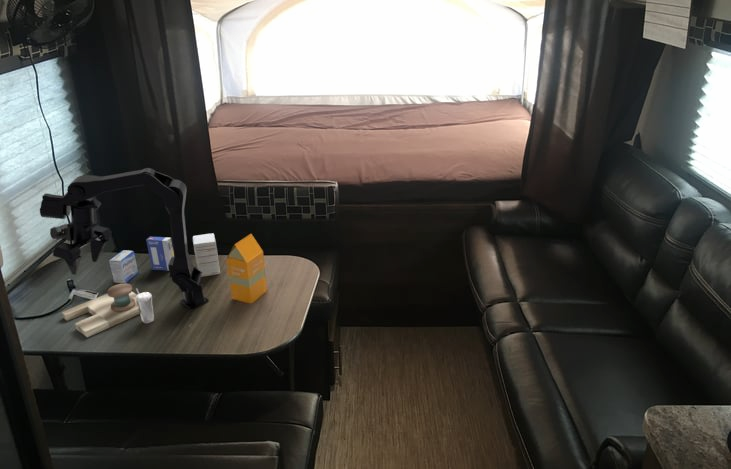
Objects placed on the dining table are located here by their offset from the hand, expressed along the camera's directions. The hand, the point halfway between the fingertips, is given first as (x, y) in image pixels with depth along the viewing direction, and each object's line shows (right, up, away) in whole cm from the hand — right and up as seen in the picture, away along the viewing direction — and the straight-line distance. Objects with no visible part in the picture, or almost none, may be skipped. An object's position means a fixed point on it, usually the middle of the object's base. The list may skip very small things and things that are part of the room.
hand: (84, 267), depth 169 cm
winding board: (+5, -14, +5) cm, 16 cm away
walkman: (+13, -2, +31) cm, 34 cm away
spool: (+10, -12, +5) cm, 16 cm away
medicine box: (+2, -5, +25) cm, 26 cm away
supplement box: (+29, -3, +29) cm, 41 cm away
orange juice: (+47, -10, +13) cm, 49 cm away
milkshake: (+19, -16, +1) cm, 24 cm away
